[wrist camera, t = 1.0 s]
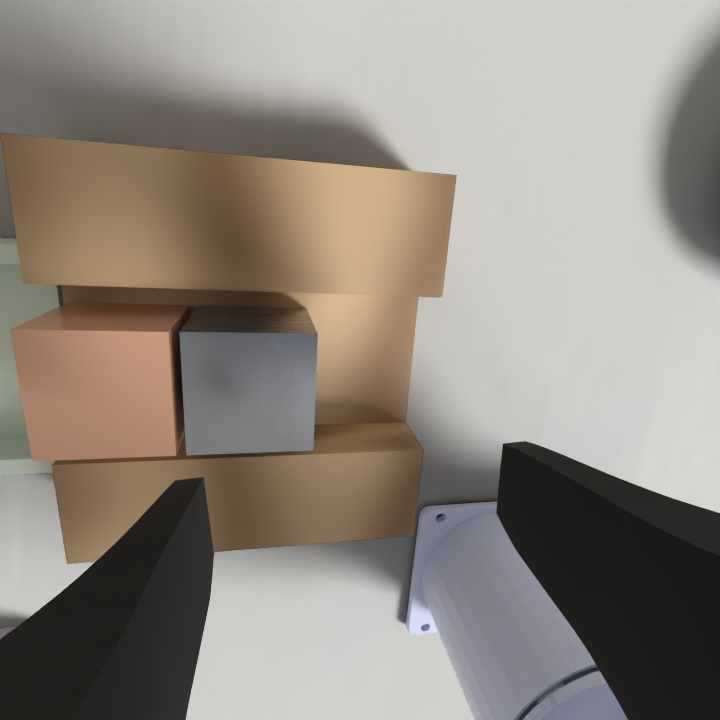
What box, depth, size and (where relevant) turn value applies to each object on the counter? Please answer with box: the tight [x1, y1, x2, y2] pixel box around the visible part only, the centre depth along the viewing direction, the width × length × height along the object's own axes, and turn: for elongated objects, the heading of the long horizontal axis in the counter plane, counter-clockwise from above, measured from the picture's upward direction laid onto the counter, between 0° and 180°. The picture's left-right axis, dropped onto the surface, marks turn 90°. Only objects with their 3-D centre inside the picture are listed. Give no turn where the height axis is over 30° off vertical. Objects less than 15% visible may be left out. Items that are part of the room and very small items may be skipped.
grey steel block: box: [179, 305, 318, 455], centre depth 16 cm, size 4×4×4 cm
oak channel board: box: [0, 133, 457, 564], centre depth 17 cm, size 13×14×4 cm
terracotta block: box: [10, 302, 190, 461], centre depth 15 cm, size 4×4×4 cm
